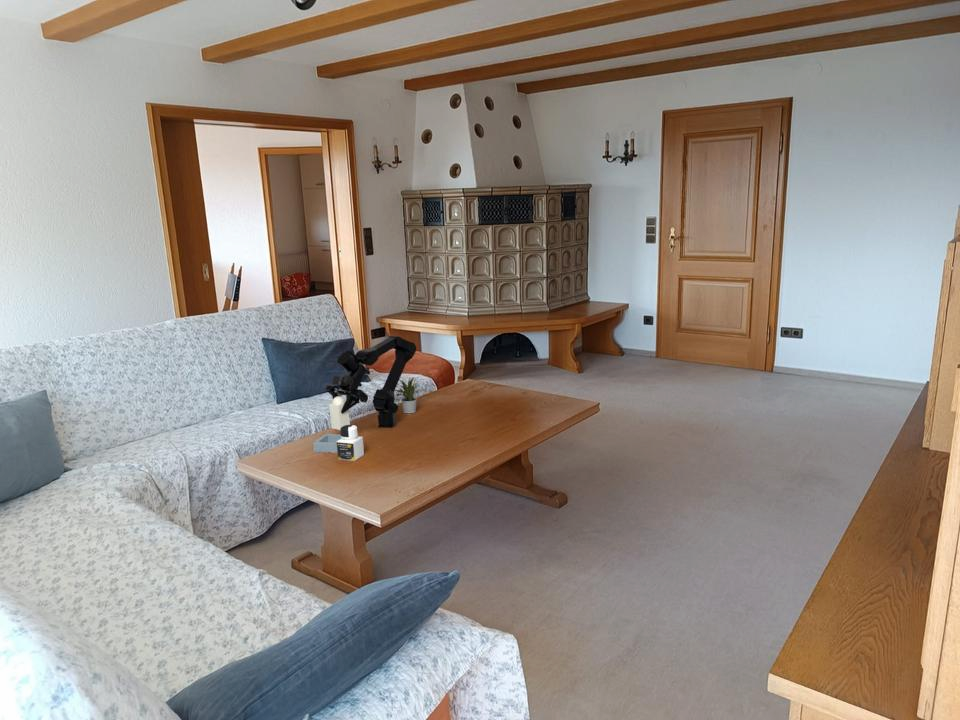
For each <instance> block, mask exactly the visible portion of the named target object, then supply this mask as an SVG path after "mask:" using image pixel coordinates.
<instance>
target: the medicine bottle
mask: <svg viewBox="0 0 960 720" xmlns="http://www.w3.org/2000/svg"><path fill="white" fill-rule="evenodd" d="M339 431H340V434H341V439H340V440H338V441H337V453H336V454H337V459H338V460H340V461H342V460H343V461H349V462H355V461H357V460H358V459H359V458H362V457H363V456H364V455H365V448H364V438H363V436H359V434H358V427H357V425H354V424H350V425H345V426H343V427H341V429H340V430H339Z"/></svg>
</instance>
